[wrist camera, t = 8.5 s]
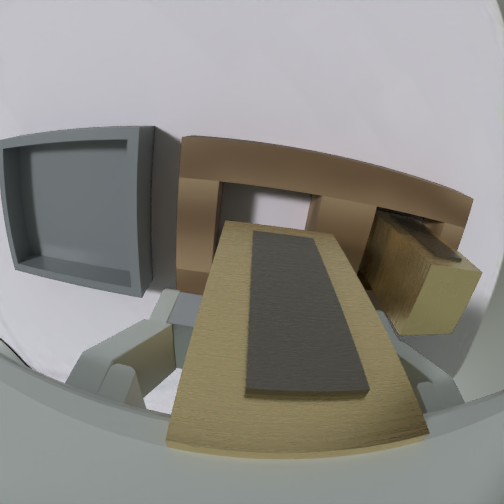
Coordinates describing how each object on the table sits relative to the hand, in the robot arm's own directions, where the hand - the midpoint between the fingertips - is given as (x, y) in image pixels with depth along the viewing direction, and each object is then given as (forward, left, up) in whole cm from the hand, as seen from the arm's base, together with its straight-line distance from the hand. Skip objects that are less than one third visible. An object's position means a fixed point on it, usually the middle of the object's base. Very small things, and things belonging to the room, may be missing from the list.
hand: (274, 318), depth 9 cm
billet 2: (0, -9, -10) cm, 13 cm away
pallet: (0, -4, -10) cm, 11 cm away
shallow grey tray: (0, +14, -10) cm, 17 cm away
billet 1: (0, 0, -3) cm, 3 cm away
